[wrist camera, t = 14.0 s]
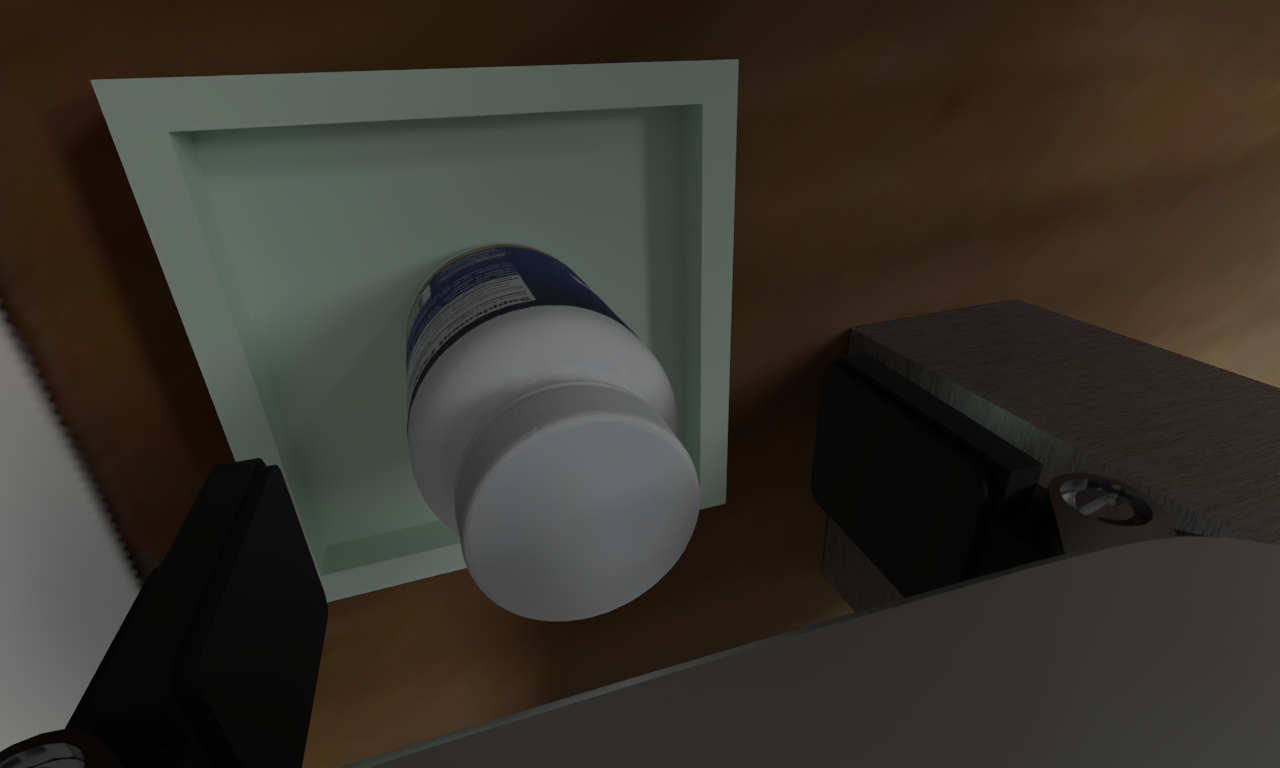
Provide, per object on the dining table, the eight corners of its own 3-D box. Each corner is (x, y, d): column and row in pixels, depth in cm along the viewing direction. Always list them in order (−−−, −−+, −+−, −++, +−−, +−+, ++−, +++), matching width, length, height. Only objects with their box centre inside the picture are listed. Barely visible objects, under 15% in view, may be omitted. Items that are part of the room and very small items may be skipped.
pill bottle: (623, 347, 20) (784, 532, 11) (481, 443, 20) (542, 705, 11) (529, 199, 17) (652, 302, 9) (362, 308, 17) (324, 523, 8)
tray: (706, 62, 18) (738, 59, 16) (702, 473, 24) (725, 503, 22) (129, 81, 14) (89, 79, 12) (302, 566, 20) (292, 611, 18)
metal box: (1029, 288, 25) (1739, 512, 12) (968, 535, 31) (1404, 880, 17) (842, 319, 23) (1469, 646, 9) (813, 582, 29) (1180, 1024, 15)
